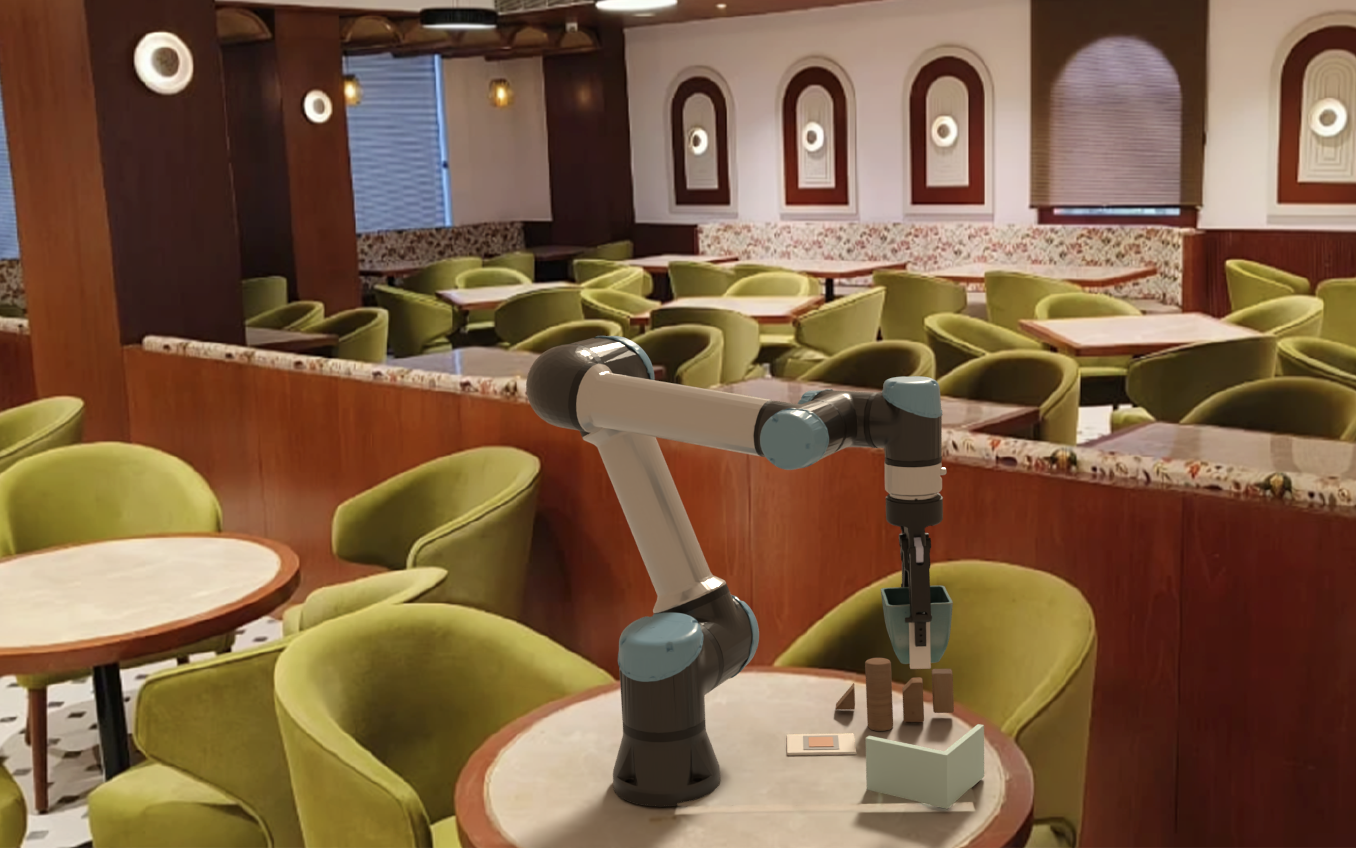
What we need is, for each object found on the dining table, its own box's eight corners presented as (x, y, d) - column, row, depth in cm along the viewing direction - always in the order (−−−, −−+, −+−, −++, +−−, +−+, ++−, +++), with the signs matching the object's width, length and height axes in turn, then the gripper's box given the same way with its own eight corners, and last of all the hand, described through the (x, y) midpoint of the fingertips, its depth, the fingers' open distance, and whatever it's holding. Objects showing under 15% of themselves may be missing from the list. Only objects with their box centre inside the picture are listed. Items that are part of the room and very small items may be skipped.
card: (787, 755, 212) (787, 751, 212) (787, 737, 219) (786, 733, 219) (856, 754, 212) (856, 750, 212) (853, 735, 219) (853, 732, 219)
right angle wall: (984, 776, 202) (983, 725, 201) (947, 809, 193) (946, 755, 192) (906, 759, 209) (905, 710, 208) (866, 790, 200) (865, 738, 198)
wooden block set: (953, 714, 226) (950, 649, 225) (955, 731, 217) (953, 663, 216) (836, 715, 228) (833, 650, 228) (834, 732, 220) (831, 665, 219)
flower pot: (881, 649, 202) (879, 586, 201) (945, 647, 202) (944, 584, 200) (888, 670, 194) (886, 605, 192) (955, 668, 193) (953, 603, 192)
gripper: (951, 511, 183) (954, 683, 187) (933, 475, 204) (936, 631, 208) (891, 512, 184) (895, 684, 188) (880, 477, 205) (883, 632, 208)
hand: (916, 656), depth 198 cm, fingers closed on flower pot, 8 cm apart
